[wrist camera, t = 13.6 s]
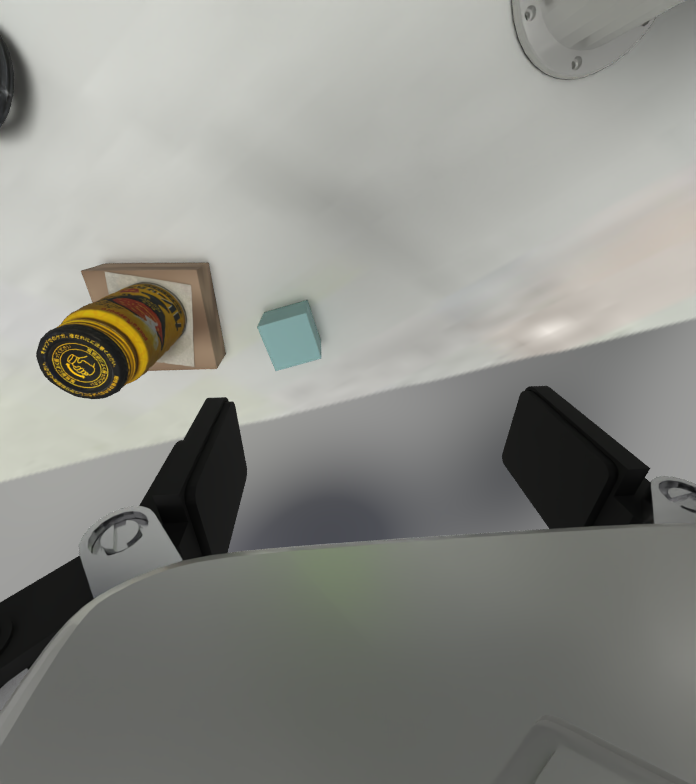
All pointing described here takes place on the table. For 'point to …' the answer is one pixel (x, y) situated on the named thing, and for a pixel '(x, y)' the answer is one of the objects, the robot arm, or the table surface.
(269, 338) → the teal cube
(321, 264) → the table surface
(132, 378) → the condiment
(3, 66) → the milk frother
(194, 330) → the block
